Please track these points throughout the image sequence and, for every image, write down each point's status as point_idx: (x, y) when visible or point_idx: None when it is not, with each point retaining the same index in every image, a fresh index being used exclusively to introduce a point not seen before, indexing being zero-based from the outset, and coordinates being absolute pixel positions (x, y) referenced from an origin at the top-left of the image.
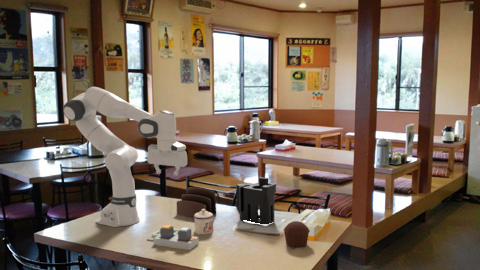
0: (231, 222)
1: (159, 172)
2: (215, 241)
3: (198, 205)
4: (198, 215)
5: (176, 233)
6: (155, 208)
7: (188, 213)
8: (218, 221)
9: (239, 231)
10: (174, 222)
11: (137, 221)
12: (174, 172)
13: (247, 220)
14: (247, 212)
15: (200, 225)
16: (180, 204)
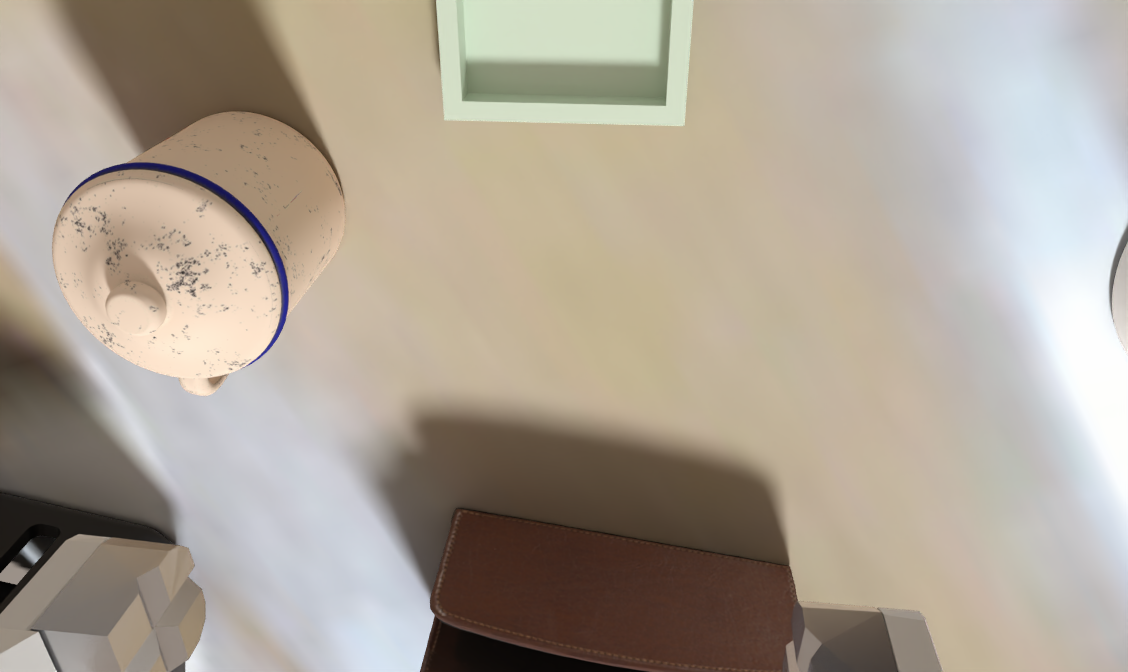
0: (218, 499)
1: (799, 652)
2: (4, 15)
3: (522, 619)
4: (164, 209)
5: (438, 2)
6: (1076, 658)
7: (652, 564)
8: (332, 496)
9: (12, 329)
10: (705, 382)
11: (1122, 278)
12: (73, 614)
13: (71, 524)
14: (24, 576)
15: (177, 143)
16: (755, 643)
